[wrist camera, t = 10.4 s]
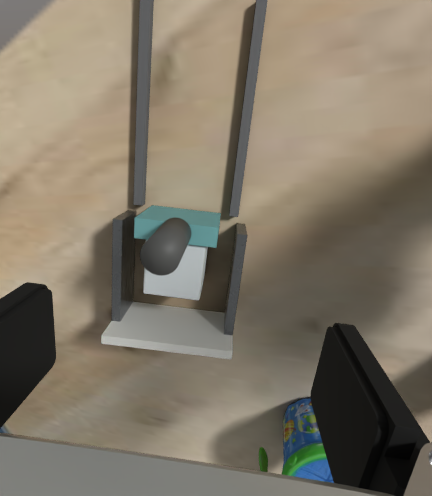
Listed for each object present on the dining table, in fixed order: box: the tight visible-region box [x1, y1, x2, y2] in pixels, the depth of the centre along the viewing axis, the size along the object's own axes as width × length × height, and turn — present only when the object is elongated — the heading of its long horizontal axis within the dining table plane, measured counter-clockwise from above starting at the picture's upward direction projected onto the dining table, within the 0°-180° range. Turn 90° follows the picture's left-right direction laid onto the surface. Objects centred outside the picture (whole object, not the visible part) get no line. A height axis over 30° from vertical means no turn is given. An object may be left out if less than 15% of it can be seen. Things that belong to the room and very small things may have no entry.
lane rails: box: [134, 0, 267, 217], centre depth 33 cm, size 12×21×1 cm, turn 174°
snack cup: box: [259, 398, 334, 483], centre depth 40 cm, size 16×11×10 cm
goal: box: [101, 210, 247, 359], centre depth 35 cm, size 14×13×8 cm
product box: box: [143, 239, 208, 300], centre depth 35 cm, size 6×6×7 cm
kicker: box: [134, 205, 221, 276], centre depth 30 cm, size 8×3×14 cm, turn 84°
